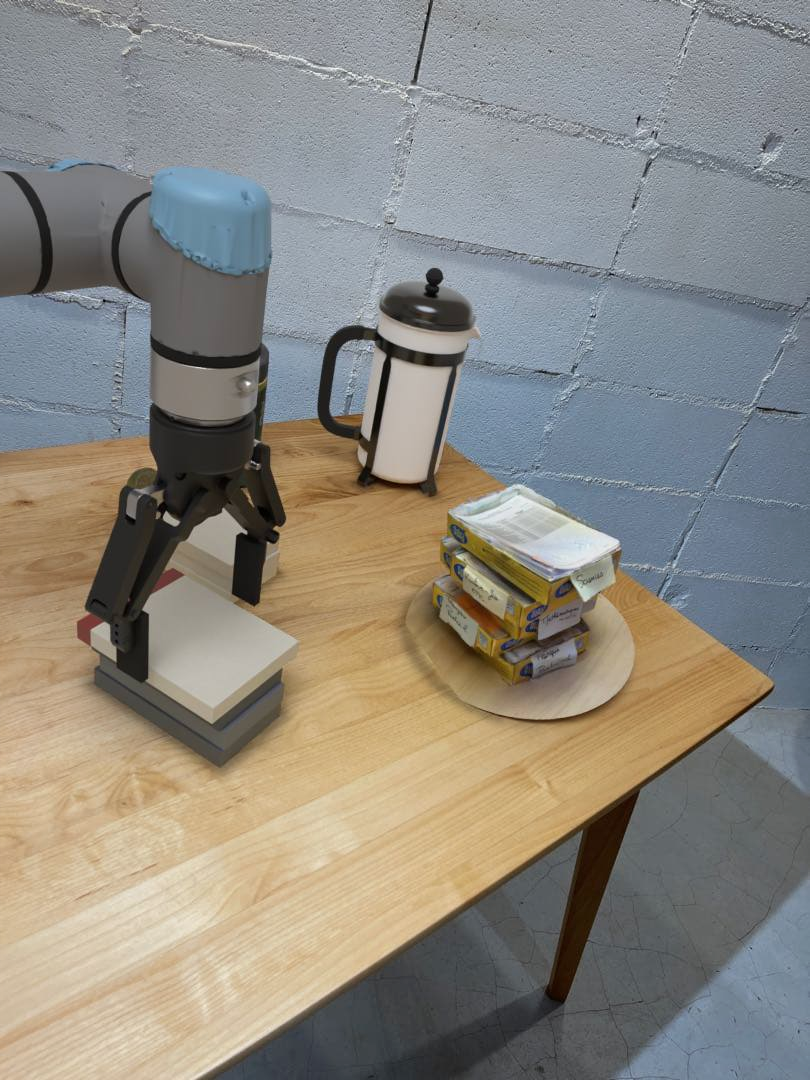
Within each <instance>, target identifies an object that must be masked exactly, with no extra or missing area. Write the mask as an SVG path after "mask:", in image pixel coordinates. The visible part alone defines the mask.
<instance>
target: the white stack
mask: <svg viewBox="0 0 810 1080" xmlns="http://www.w3.org/2000/svg"><path fill="white" fill-rule="evenodd" d="M163 520H164V521H166V522H167V523H169V524H171V525H173V526H177V525H178V524H179V523H180V522H179V521H178V520H176V519H174V518H172V517H171V516H170V515H169V514H168V512H167V511H166V512H165V514H164V516H163ZM241 532H242V533H244V534H246V535H247V531H246V530H244V529H243V528H242V527H241V526H240V525H239V524H238V523H237V522H236V521H235V519H234V518H233V517H232V516H231V515H230V514H229V513H228V512H227V511H226V510H225V509H224V508H223V509H222V513H220V514H219V515H217V516H213V517H209V518H207V519H206V520H205V521H204V522H202V523H201V524H199V525H197V526H195V527H194V529H193V530H192V532H191V534H190V536H189V538H188V539H187V540H186V541H183V542H180V543H179V544H178V546H177V548H176V549H175V551H174V553H173V555H172V557H171V558H170V560H169V562H168V564H167V566H166V567H165V569H164V570H166V571H168V570H170V569H172V568H174V569H176V570H178V571H179V572H181V573H183V574H185V576H187V577H188V578H190V579H192V580H194V581H195V582H197V583H199V584H201V585H202V586H204V587H206V588H208V589H209V590H211V591H213V592H215V593H216V594H218V595H220V596H222V597H223V598H225V599H227V600H229V601H230V602H232V603H234V604H235V603H236V602H238V601H240V600H241V599H240V598H238V597H236V596H234V595H232V582H233V569H234V556H235V543H236V535H237V534H239V533H241ZM279 543H280V538H279V539H278V541H277V542H276V543H275V544H271V543H269V542H267V550H266V560H265V563H264V566H263V574H262V583H261V586H262V585H263V584H265V583H266V582H268V581H269V580H271V579H272V578H274V577H275V576H277V572H278V565H279V561H280V555H281V554H280V553H281V551H280V550H279V545H280V544H279Z"/></svg>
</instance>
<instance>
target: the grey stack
mask: <svg viewBox="0 0 810 1080" xmlns="http://www.w3.org/2000/svg"><path fill="white" fill-rule="evenodd" d="M91 650H92V651H94V652H95V653H97V654H98V655H99V664H98V665H96V666H95V667H94V668H93V677H94V679H93V680H94V683H93V684H94V685H95V686H96V687H98V688H99V689H100V690H102V691H104V692H105V693H107V694H108V695H110V696H111V697H113V698H114V699H116V700H117V701H119V702H120V703H122V704H123V705H125V707H127V708H129V709H131V710H132V711H134V712H135V713H136V714H138V715H139V716H141V717H143V718H144V719H146V720H147V721H149V722H150V723H152V724H153V725H155V726H156V727H157V728H159V729H160V730H162V731H163V732H165V733H167V734H168V735H170V736H171V737H172V738H174V739H175V740H177V741H179V742H180V743H181V744H183V745H184V746H186V747H187V748H189V749H190V750H192V751H193V752H195V753H196V754H198V755H200V756H201V757H202V758H204V759H205V760H207V761H209V762H210V763H211V764H212V765H214V766H215V767H218V768H219V769H220V768H222V767H223V766H224V765H226V764H227V763H228V762H229V761H230V760H232V759H233V758H234V757H235V756H236V755H237V754H238V753H239V752H240V751H242V750H243V749H244V748H245V747H246V746H247V745H248V744H250V743H251V742H252V741H253V740H254V739H256V737H258V736H259V735H260V734H261V733H262V732H263V731H265V730H266V729H267V728H268V727H269V726H270V725H271V724H273V723H274V722H275V721H276V720H277V719H278V718H279V717H280V713H281V707H282V702H283V700H284V699H283V698H284V691H285V685H286V684H285V682H283V681H282V674H283V669H284V667H282V668H281V669H280V670H279V671H277V672H276V673H275V674H274V675H272V676H271V677H270V678H269V679H267V680H266V681H265V682H264V683H262V684H261V685H260V686H259V687H258V688H256V689H255V690H254V691H253V692H251V693H250V694H249V695H248V696H246V697H245V698H244V699H243V700H241V701H240V702H239V703H238V704H236V705H235V706H234V707H233V708H231V709H230V710H229V711H228V712H226V713H225V714H224V715H223V716H221V717H220V718H219V719H218V720H216V721H215V722H214V723H213V724H211V723H210V722H208V721H206V720H205V719H203V718H202V717H200V716H199V715H197V714H196V713H194V712H193V711H191V710H189V709H188V708H186V707H185V706H183V705H182V704H180V703H179V702H177V701H176V700H174V699H172V698H171V697H169V696H168V695H166V694H165V693H163V692H162V691H160V690H159V689H157V688H155V687H154V686H152V685H151V684H149V683H148V682H146V681H144V682H143V683H140V682H138V681H136V680H135V679H133V678H132V677H130V676H129V675H127V674H126V673H124V672H122V671H121V670H119V669H118V668H116V662H115V661H114V660H112V659H111V658H109V657H108V656H106V655H104V654H103V653H101V652H100V651H98V650H97V649H95V648H94V647H92V646H91Z"/></svg>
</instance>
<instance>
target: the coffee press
mask: <svg viewBox="0 0 810 1080" xmlns="http://www.w3.org/2000/svg"><path fill="white" fill-rule="evenodd" d="M444 279H445V278H444V273H443V271H442V270H441V269H440V268H438V267H431V268H430V269H428V270H427V271H426V274H425V280H415V279H412V280H403V281H399V282H396V283H394V284H392V285H391V286H390V287H389V288H387V289H386V291H385V292H384V294H383V295H382V296H380V297H379V299H378V300H379V301H378V308H379V311H380V313H379V320H378V324H377V325H376V327H375V328H373V327H368V326H364V325H363V324H362V325H361V324H352V325H346V326H343V327H341V328H340V329H338V330H336V331H335V333H333V334H332V336H331V337H330V338H329V340H328V341H327V343H326V346H325V349H324V354H323V358H322V365H321V370H320V371H321V372H320V379H319V387H318V393H317V404H316V408H317V409H316V411H317V417H318V420H319V423H320V425H321V426H322V427H323V429H324V430H326V431H327V432H328V433H330V434H332V435H333V436H337V437H340V438H343V439H350V440H354V441H357V442H358V444H357V445H358V446H357V449H356V453H357V459H358V461H359V464H360V465H361V466H362V467H363V469H362V471H361V472H360V474H359V475H358V476H357V479H356V484H357V485H359V486H360V487H362V488H365V485H366V486H368V487H369V486H371V485H372V484H373V482H374V481H375V480H376V479H378V478H379V479H382V480H384V481H389V482H392V483H398V484H418V486H419V487H420V489H421V491H422V493H423V494H427V493H429V495H428V497H432V496H434V495H436V494H438V487H437V485H436V480H435V475H436V473H437V472H438V471H439V468H440V464H441V460H442V455H443V451H444V446H445V442H446V438H447V434H448V430H449V426H450V421H451V417H452V412H453V407H454V403H455V400H456V395H457V390H458V386H459V382H460V377H461V373H462V368H463V364H464V362H465V361H466V359H467V356H468V352H469V351H468V350H469V346H470V345H469V341H470V339H478V340H482V338H483V336H482V334H481V331H480V329H479V327H478V324H477V323H476V322H477V316H476V314H475V312H474V307H473V304H472V302H471V301H470V300H469V298H468V297H467V296H466V295H464V294H463V293H462V292H460V291H459V290H457V289H455V288H452V287H450V286H447V285H444V284H442V282H443V280H444ZM362 340H363V341H364V340H365V341H373V342H374V349H373V355H372V362H371V367H370V372H369V379H368V384H367V385H368V386H367V391H366V398H365V403H364V410H363V415H362V420H361V421H362V422H361V423H360V424H359V425H350V424H344V423H341V422H339V421H337V420H335V419H334V417H333V416H332V413H331V410H330V406H331V405H330V404H331V398H332V390H333V383H334V377H335V371H336V363H337V358H338V354H339V352H340V350H341V349H342V347H343V346H344V345H345V344H346V343H348V342H351V341H362ZM426 481H427V482H426Z"/></svg>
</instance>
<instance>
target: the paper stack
mask: <svg viewBox="0 0 810 1080" xmlns="http://www.w3.org/2000/svg"><path fill="white" fill-rule="evenodd" d="M446 519H447V521H446V534H447V535H445V536H442V537H441V539H440V547H439V549H440V550H439V561H440V562H441V563H442V565H444V567H445V568H446V569H447V571H445V572H443V573H441V574H439V575H437V576H436V577H434V578H432V579H431V580H430V581H428V583H426V584H425V585H424V586H422V588H420V590H419V591H418V592H417V593H416V595H415V596H414V597H413V599H412V601H411V603H410V605H409V607H408V609H407V612H406V617H405V626H406V627H407V629H408V631H410V633H411V635H412V636H413V637H414V640H416V641H417V643H418V645H419V646H420V648H422V650H423V651H424V653H425V654H426V655H427V656H428V658H429V659H430V660H431V662H432V664H433V665H434V666H435V668H436V670H437V671H438V672H439V673H440V674H441V676H442V677H443V679H444V680H445V681H446V682H447V683H448V685H449V686H450V688H451V689H452V690H453V692H454V694H455V695H457V698H458V699H459V700H461V701H462V702H464V703H466V704H468V705H470V706H473V707H475V708H478V709H480V710H483V711H486V712H489V713H492V714H494V715H499V716H500V715H501V716H505V717H509V718H510V717H511V718H515V719H524V720H556V719H562V718H568V717H574V716H577V715H581V714H583V713H586V712H589V711H591V710H594V709H595V708H597V707H600V706H601V705H603V704H605V703H607V702H608V701H609V700H610V699H612V698H613V697H614V696H615V695H617V694H618V692H620V691H621V690H622V688H623V687H624V685H626V683H627V682H628V680H629V678H630V676H631V673H632V671H633V667H634V664H635V656H636V655H635V642H634V638H633V635H632V631H631V629H630V627H629V625H628V623H627V622H626V620H625V618H624V617H623V616H622V614H621V612H620V611H619V610H618V609H617V607H615V605H614V604H613V603H612V602H611V601H610V600H609V599H608V598H606V597H605V596H604V595H603V594H602V593H601V592H603V591H605V590H606V589H607V588H609V587H611V586H613V585H614V584H616V582H617V580H616V579H617V578H616V576H617V571H618V568H619V565H620V562H621V561H620V560H621V556H622V552H623V549H622V547H621V543H620V540H619V539H618V538H615V537H613V536H610V535H608V534H607V533H604V532H603V531H601V530H599V529H597V528H598V527H597V526H595V525H594V524H592V523H591V522H587V520H586V519H585V518H583V520H581V516H578V515H577V516H576V515H574V514H573V511H572V510H570V508H567V509H564V508H563V507H561V506H560V504H559V503H558V504H557V505H556V504H555V502H553V501H552V500H551V499H549V498H547V497H544V496H543V495H542V494H539V493H536V491H535V490H534V489H532V486H531V485H529V487H528V486H526V485H523V484H519V483H516V484H515V483H513V485H511V486H508V487H506V488H504V489H503V490H502V489H500V490H496V491H494V492H491V493H487V494H485V495H480V496H479V497H477V498H475V499H473V498H472V499H471V497H468V498H467V499H466V503H464V502H461V504H459V505H458V506H455V507H454V508H450V509H448V511H447V516H446ZM579 521H580V522H579ZM586 524H588V525H586Z"/></svg>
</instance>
